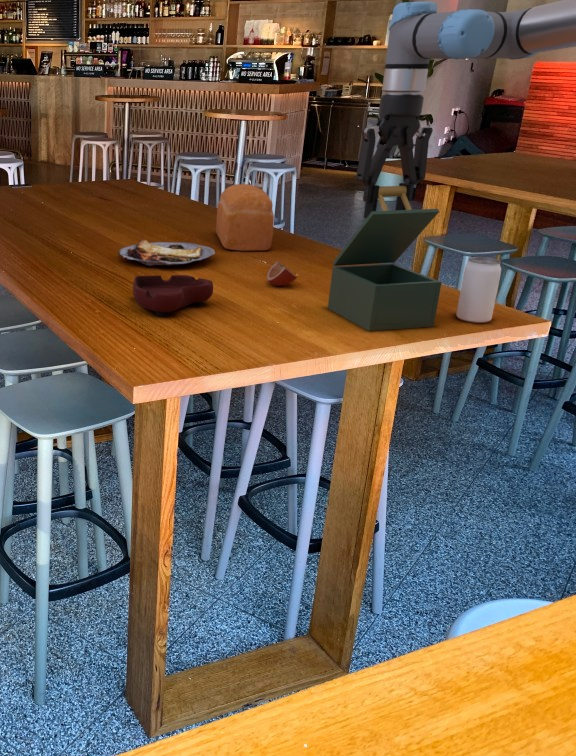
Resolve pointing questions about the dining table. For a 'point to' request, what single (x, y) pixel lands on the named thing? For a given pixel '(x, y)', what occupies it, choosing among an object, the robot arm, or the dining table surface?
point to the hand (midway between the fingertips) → (384, 217)
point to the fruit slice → (280, 275)
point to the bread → (245, 218)
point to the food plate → (165, 253)
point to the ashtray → (170, 292)
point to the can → (479, 290)
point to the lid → (385, 232)
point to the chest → (384, 296)
